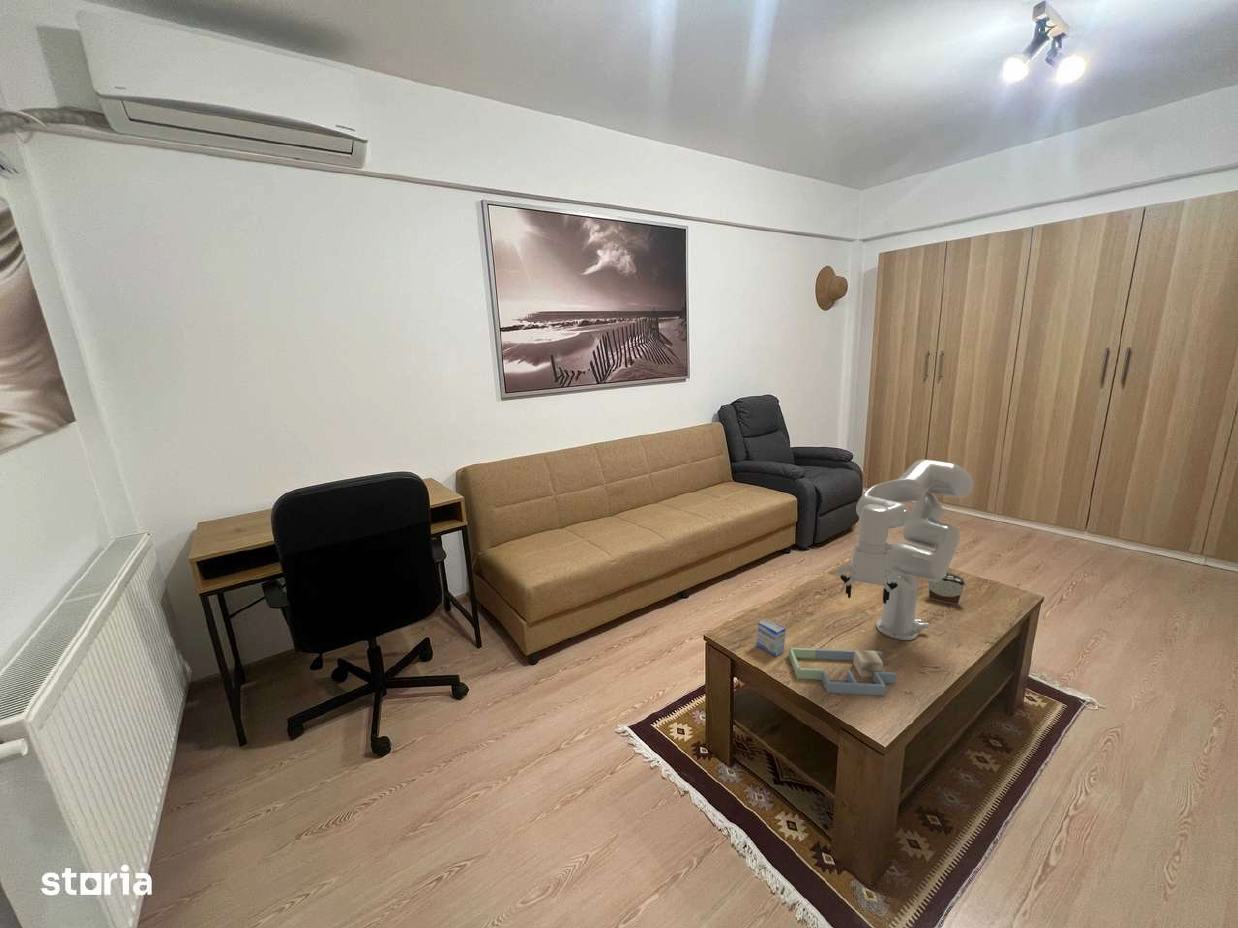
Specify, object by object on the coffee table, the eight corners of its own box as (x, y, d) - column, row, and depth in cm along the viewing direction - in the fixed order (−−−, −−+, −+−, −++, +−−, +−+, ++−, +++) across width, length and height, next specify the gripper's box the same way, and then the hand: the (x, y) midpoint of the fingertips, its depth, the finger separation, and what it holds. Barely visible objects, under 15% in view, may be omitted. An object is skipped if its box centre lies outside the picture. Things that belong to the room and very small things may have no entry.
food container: (962, 598, 189) (965, 574, 186) (962, 605, 184) (966, 581, 181) (924, 591, 195) (927, 567, 193) (924, 597, 190) (927, 573, 188)
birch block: (873, 664, 152) (875, 650, 151) (881, 677, 146) (883, 662, 145) (853, 664, 152) (854, 649, 151) (860, 676, 147) (861, 661, 145)
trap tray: (880, 659, 154) (881, 651, 153) (904, 696, 138) (905, 687, 137) (788, 655, 157) (789, 647, 156) (801, 691, 141) (802, 682, 140)
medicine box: (755, 645, 163) (756, 622, 161) (764, 640, 165) (765, 617, 163) (776, 657, 156) (777, 632, 154) (784, 651, 159) (786, 627, 157)
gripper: (903, 545, 145) (897, 597, 149) (839, 537, 152) (835, 588, 156) (906, 555, 139) (900, 610, 143) (839, 547, 145) (835, 599, 149)
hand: (866, 598), depth 149 cm, fingers open, 9 cm apart
